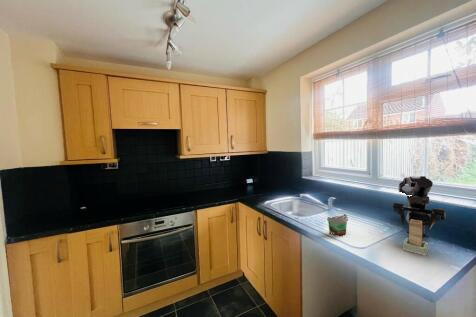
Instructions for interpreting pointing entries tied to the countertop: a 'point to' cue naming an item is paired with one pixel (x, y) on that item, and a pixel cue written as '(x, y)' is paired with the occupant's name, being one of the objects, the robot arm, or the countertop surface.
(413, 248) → the end cap
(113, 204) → the countertop surface
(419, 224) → the slat
